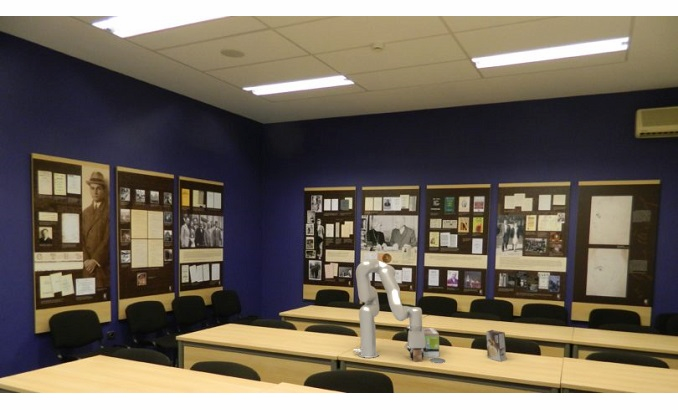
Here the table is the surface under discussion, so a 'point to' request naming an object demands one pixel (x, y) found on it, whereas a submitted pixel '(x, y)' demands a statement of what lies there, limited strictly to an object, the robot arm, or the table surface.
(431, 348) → the tea box
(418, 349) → the block
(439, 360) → the coaster
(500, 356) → the coffee box
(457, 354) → the table surface
